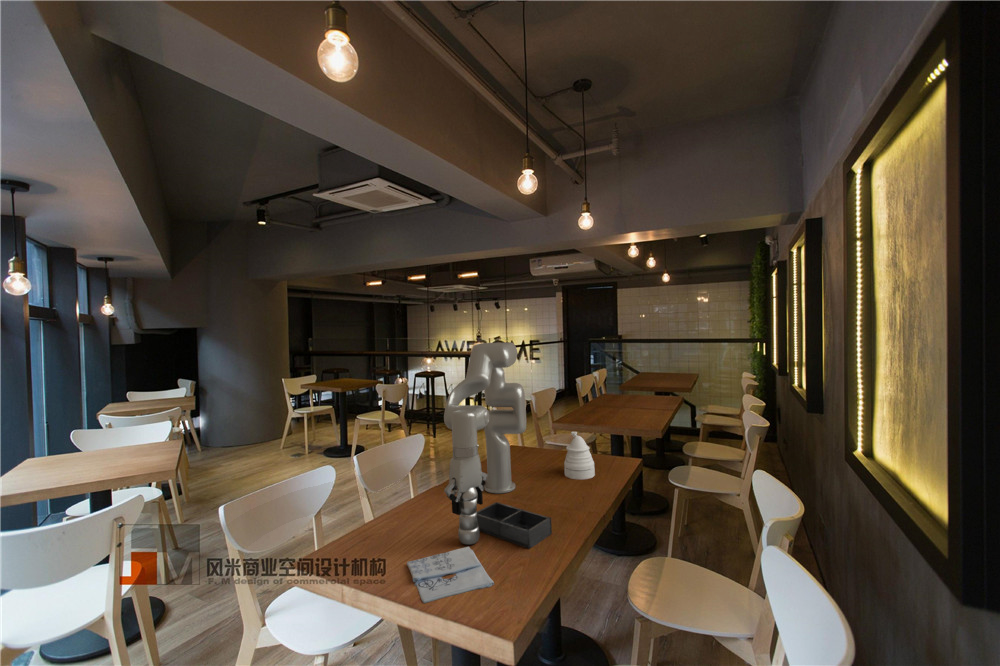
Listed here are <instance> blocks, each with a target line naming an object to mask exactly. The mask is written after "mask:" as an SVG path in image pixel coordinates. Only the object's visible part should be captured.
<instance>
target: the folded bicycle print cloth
mask: <svg viewBox="0 0 1000 666" xmlns="http://www.w3.org/2000/svg"><path fill="white" fill-rule="evenodd" d="M406 565H407V567H408V570H409V572H410V575H411V576H412V582H413V583H414V586H413V587H415V586H416V589H417V591H418V594H419V597H420V599H421V601H422V603H423V604H426V603H427V604H428V603H431V602H434V601H437V600H440V599H444V598H449V597H452V596H456V595H459V594H465V593H467V592H471V591H475V590H480V589H486V588H491V587H492V586H495V582H494V580H493V579H492V578H491V577H490V575H489V574H488V572H487V571H486V570H485V567H484V566H483V565H482V563H481V562H480V560H479V559H478V557H477V556H476V553H475V552H474V550H473V549H471V547H470V546H465V547H460V548H457V549H453V550H450V551H446V552H442V553H438V554H433V555H430V556H426V557H422V558H418V559H415V560H410V561H407V562H406ZM448 575H453V576H452V577H450V578H443V577H445V576H448Z"/></svg>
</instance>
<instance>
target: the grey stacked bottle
mask: <svg viewBox="0 0 1000 666" xmlns="http://www.w3.org/2000/svg"><path fill="white" fill-rule="evenodd" d="M477 496H478V493H477V490H476V488H470V489H469V490H468V491H466V492H464V493H462V494H461V496H460V499H459V501H460V502H461V515H458V516H459V520H458V521H459V523H458V524H459V525H458V533H457V535H458V540H459V542H460V543H461V544H462V545H466V546H467V545H474V544H476V543H478V541H479V539H480V534H481V533H480V531H479V527H478V521H477V511H478V510H477V507H478V504H477Z"/></svg>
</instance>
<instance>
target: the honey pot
mask: <svg viewBox="0 0 1000 666" xmlns="http://www.w3.org/2000/svg"><path fill="white" fill-rule="evenodd" d="M570 434H571V436H572V437H573V439H572V440H571V442H570V443H569V445H567V446H566V448H565V450H566V451H567V453H566V454H565V460H564V461H563V463H564V476H565V477H566V478H569V479H573V480H588V479H589V480H590V479H592V478H593V477H595V476H596V472H595V469H596V468H595V461H594V459H593V457H592V454H591V452H590V449H591V448H590V446H589V445H588V444H587V443H586V441H585V439H584V438H583V437H582V436H580V435H577V434H578V432H577V431H571V432H570Z"/></svg>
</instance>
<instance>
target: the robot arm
mask: <svg viewBox="0 0 1000 666" xmlns="http://www.w3.org/2000/svg"><path fill="white" fill-rule="evenodd" d="M471 349H472V350H471V352H470V357H469V361H468V365H467V370H466V371H467V372H466V376H465V378H464V379H463V380H461V381H459V383H458V384H457V385H456V386H455V387H454V388H453V389H452V390H451V392H450V393H449V395H448V397H447V400H446V404H445V408H444V414H443V421H444V424H445V426H446V427H447V428H448V429H450V430H451V437H452V438H451V439H452V457H451V458H450V463H449V471H448V472H449V473H448V480H449V481H448V484H447V485H446V487H445V488H444V489H443V491H444V493H445V495H446V497H447V498H448V499H449V501H451V512H452V514H454V515H457V516H459V515H461V502H460V501H459V499H460V496H461V494H462V493H464V492H466V491H468V490H469V489H470V488H476V490H477V493H478V496H477V505H483V504H484V503H483V501H484V500H483V491H484V490H485V491H486V492H488V493H490V494H505V493H510V492H512V491H514V490H515V489H516V483H515V482H513V481H512V466H511V462H512V461H511V446H510V441H509V440H508V438H507V437H506V435H511V434H512V435H515V434H516V435H518V434H523V433H524V432H526V429H527V410H526V409H527V408H526V407H527V406H526V395H525V389H524V387H523V386H522V384H520V383H518V382H506V379H505V378H506V377H505V370H504V369H505V368H510V367H511V366H513V365H514V364H515V363H516V361H517V357H518V349H517V347H516V345H515V343H513V342H510V341H509V342H506V341H505V342H483V343H477V344H475V345H473V346H472V348H471ZM483 391H484V399H485V400H484V401H485V403H486V405H487V407H491V408H512V409H490V410H488V409H487V407H485V406H484V405H475V404H474V405H471V404H470V405H469V404H468V405H467V404H466V405H465V404H463V405H460V404H461V402H463V401H464V400H465V399H467V398H469V397H472V396H474V395H476V394H478V393H480V392H483ZM483 429H484V434H485V447H486V467H487V468H486V470H487V473H486V472H483V471H482V463H481V459H480V454H479V444H478V431H479V430H480V431H481V430H483Z"/></svg>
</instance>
